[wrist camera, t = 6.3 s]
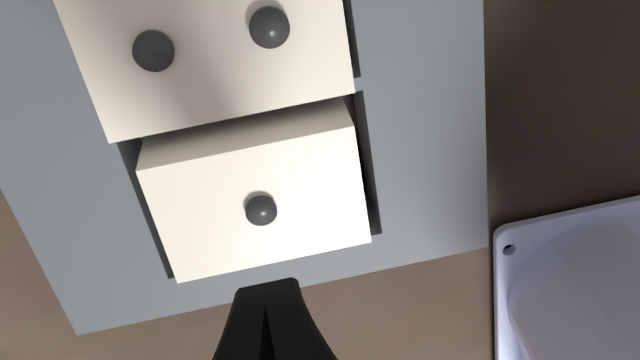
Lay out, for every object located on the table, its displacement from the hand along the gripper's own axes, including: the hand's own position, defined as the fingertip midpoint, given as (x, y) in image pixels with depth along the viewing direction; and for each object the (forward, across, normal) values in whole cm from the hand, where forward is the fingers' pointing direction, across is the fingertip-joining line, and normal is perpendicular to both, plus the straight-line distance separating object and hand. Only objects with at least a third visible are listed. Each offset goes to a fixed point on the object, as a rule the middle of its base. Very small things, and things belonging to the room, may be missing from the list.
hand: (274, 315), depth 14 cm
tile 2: (+8, 0, 0) cm, 8 cm away
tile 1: (+7, 0, -6) cm, 9 cm away
